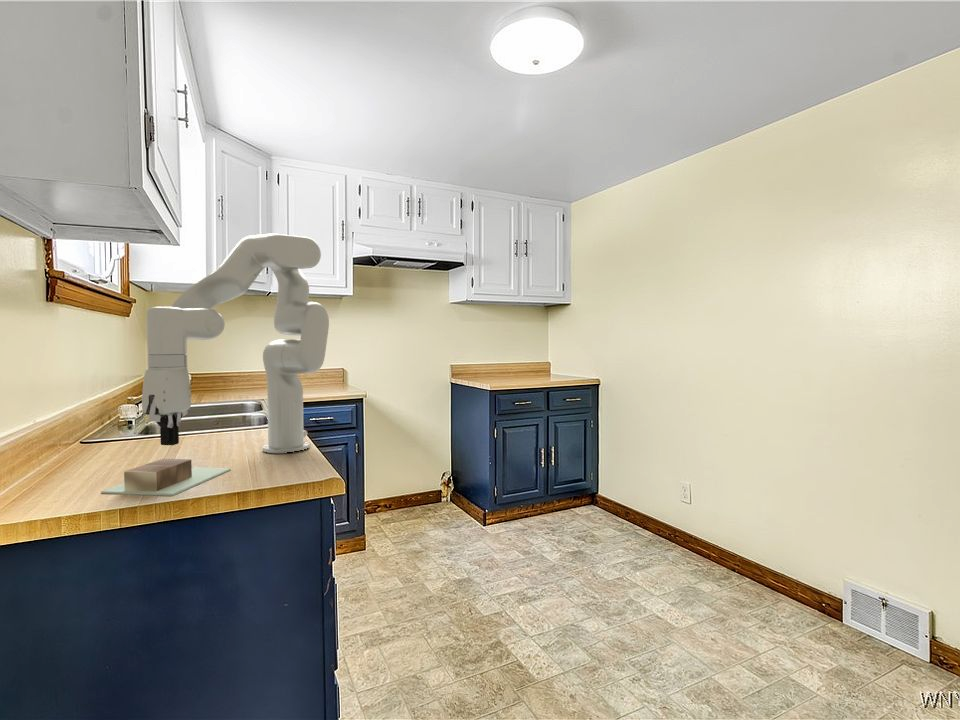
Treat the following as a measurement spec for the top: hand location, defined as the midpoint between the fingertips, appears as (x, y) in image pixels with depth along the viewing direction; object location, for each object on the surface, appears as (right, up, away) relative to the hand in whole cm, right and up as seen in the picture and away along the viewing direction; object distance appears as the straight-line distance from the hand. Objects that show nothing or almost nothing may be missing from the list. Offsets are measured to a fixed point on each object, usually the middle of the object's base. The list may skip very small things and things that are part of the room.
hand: (169, 444), depth 114 cm
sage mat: (0, -8, 0) cm, 8 cm away
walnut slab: (0, -6, +2) cm, 6 cm away
